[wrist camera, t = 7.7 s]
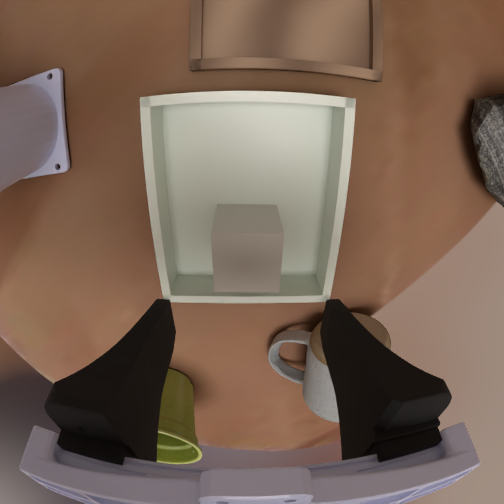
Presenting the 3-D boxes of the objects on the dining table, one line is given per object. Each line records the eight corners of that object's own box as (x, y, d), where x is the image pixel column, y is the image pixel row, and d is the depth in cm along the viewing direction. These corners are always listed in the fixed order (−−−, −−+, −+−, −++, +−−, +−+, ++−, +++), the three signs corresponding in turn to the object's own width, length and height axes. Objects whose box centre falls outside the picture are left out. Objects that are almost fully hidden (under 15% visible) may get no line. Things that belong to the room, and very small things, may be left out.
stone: (219, 254, 22) (214, 292, 18) (217, 204, 20) (210, 233, 17) (273, 255, 23) (279, 292, 19) (276, 204, 21) (284, 233, 17)
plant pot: (186, 411, 34) (179, 470, 27) (118, 383, 32) (100, 442, 24) (223, 378, 31) (219, 449, 23) (142, 343, 28) (120, 416, 20)
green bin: (171, 278, 24) (164, 301, 21) (154, 96, 17) (139, 97, 14) (320, 278, 24) (329, 301, 22) (340, 97, 17) (355, 98, 15)
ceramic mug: (379, 300, 26) (409, 363, 19) (367, 358, 30) (386, 416, 23) (263, 314, 26) (267, 386, 20) (270, 371, 30) (274, 434, 24)
